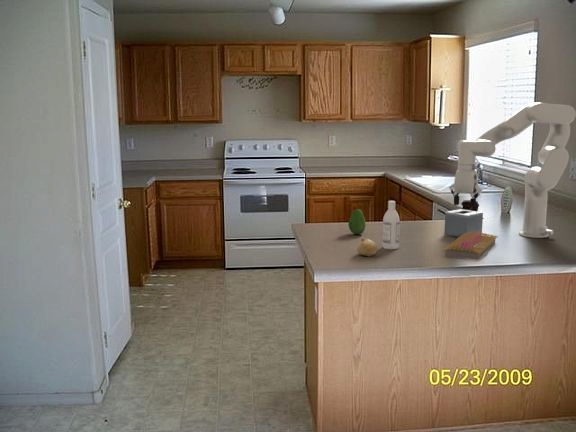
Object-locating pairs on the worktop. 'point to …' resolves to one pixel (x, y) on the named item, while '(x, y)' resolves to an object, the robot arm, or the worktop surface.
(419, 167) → the worktop surface
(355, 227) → the avocado
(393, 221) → the bath foam
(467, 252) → the brown and pink package
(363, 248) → the onion
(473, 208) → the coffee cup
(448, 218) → the box
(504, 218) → the worktop surface
